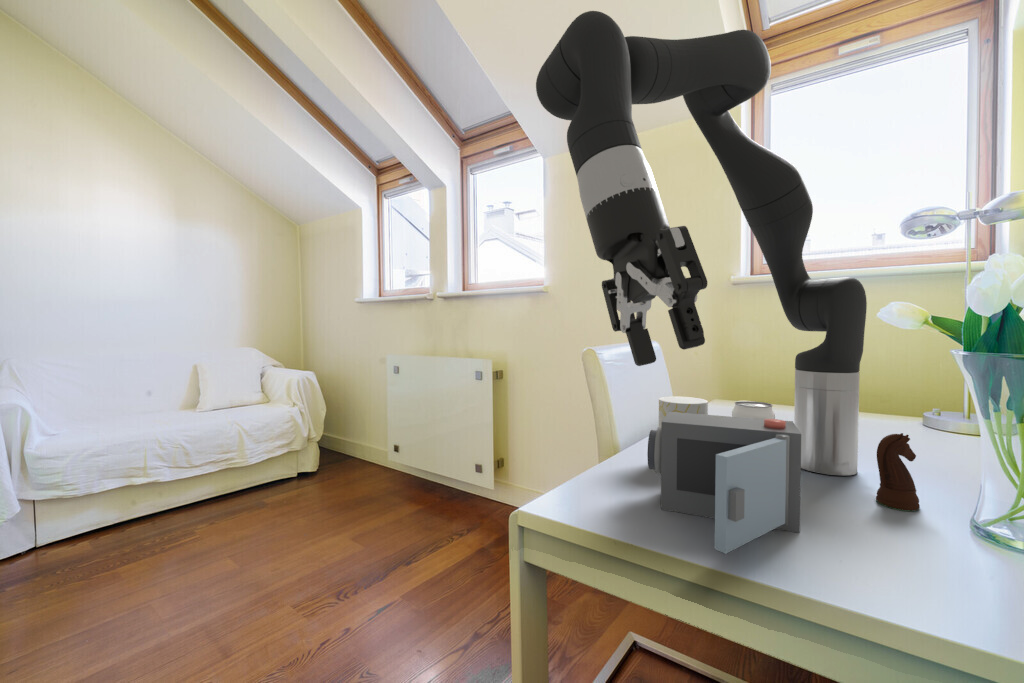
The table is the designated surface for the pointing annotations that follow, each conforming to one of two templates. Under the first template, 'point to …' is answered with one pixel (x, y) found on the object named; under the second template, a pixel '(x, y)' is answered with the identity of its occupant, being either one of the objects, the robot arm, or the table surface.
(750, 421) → the grey box
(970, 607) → the table surface
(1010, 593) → the table surface
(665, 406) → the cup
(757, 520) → the side door
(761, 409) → the can
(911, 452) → the chess piece
